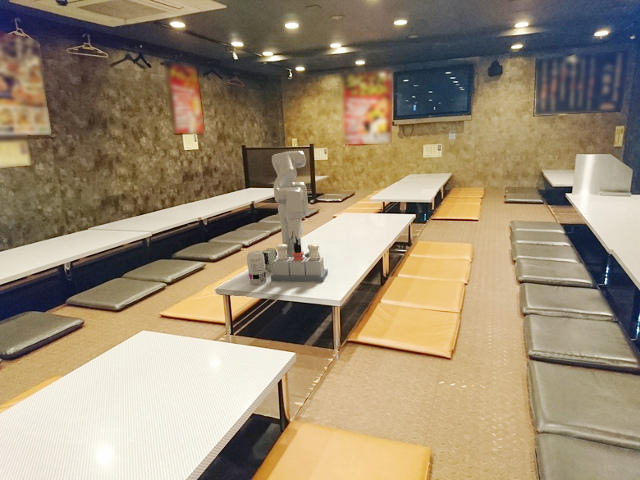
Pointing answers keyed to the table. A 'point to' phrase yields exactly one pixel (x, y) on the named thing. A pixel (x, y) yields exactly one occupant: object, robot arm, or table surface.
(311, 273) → the grey compartment rack
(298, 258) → the red rounded knob
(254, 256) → the supplement can
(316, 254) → the ivory plunger
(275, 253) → the pneumatic valve
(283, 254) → the ivory plunger
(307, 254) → the electrical switch
